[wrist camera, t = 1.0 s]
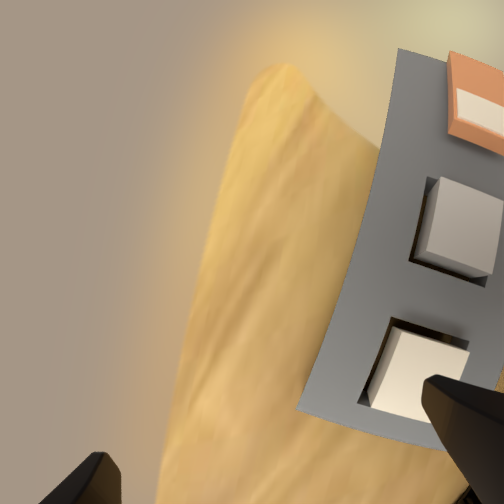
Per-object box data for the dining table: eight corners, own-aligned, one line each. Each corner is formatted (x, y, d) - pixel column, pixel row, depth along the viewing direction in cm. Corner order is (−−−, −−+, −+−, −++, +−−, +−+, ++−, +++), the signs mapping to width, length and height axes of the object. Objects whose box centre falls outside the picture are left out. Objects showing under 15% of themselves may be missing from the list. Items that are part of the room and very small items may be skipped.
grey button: (483, 215, 15) (503, 201, 13) (471, 278, 15) (492, 274, 12) (427, 194, 17) (440, 176, 14) (413, 258, 16) (426, 250, 14)
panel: (518, 118, 16) (537, 93, 13) (449, 435, 15) (467, 460, 12) (395, 73, 20) (398, 39, 16) (302, 394, 19) (292, 414, 15)
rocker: (497, 83, 14) (503, 70, 13) (509, 158, 12) (518, 144, 11) (446, 63, 15) (450, 48, 14) (447, 133, 13) (454, 116, 12)
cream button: (451, 344, 15) (469, 352, 12) (425, 407, 15) (438, 425, 12) (392, 325, 16) (401, 331, 13) (367, 390, 16) (370, 407, 13)
